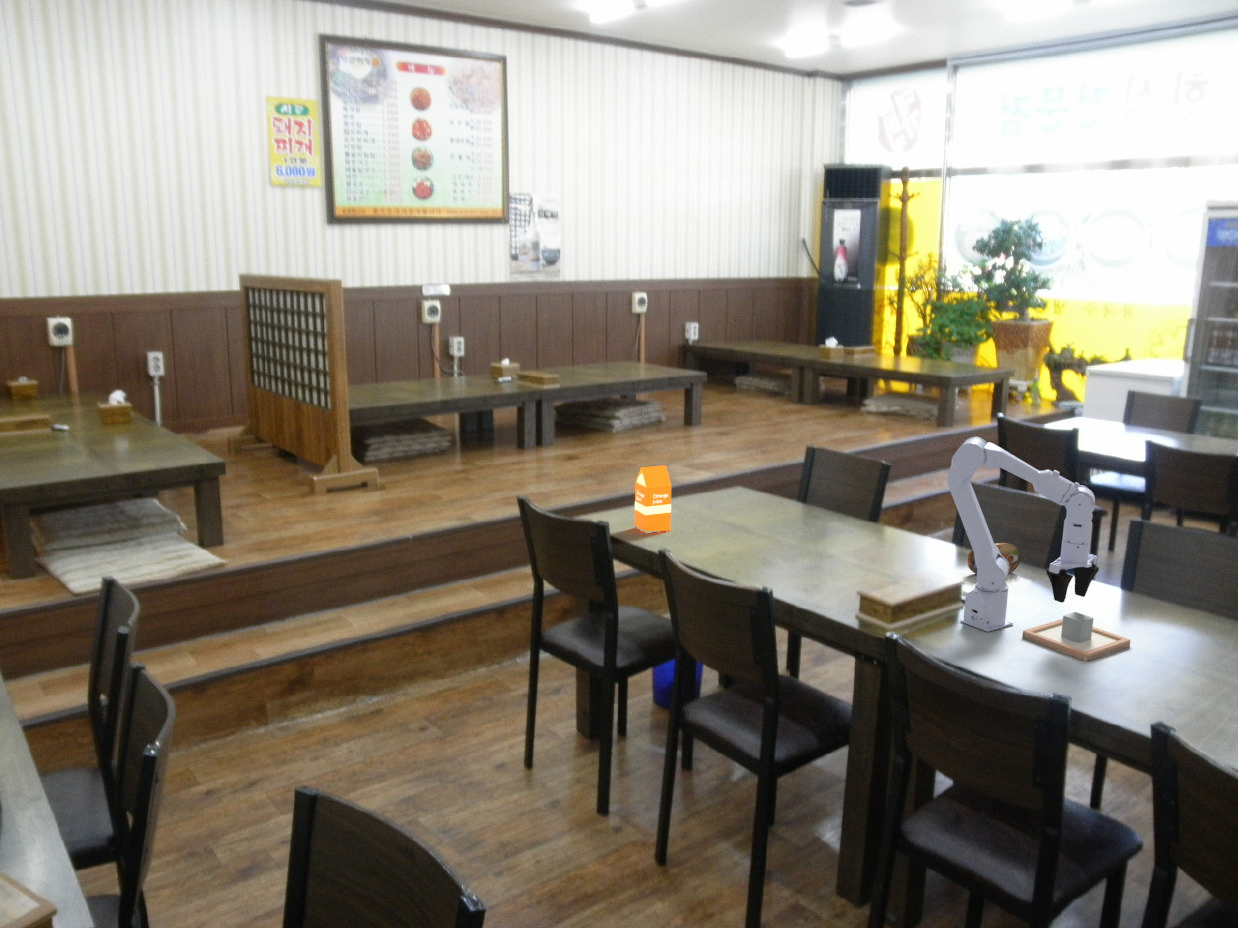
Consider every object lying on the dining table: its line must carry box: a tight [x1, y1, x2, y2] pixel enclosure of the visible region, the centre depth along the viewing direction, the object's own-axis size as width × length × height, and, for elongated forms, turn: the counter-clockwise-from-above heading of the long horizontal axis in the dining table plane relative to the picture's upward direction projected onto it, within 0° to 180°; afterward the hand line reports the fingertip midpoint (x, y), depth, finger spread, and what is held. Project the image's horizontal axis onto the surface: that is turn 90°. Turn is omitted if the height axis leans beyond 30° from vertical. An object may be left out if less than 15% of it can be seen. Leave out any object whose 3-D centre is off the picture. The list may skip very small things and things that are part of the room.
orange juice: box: [634, 465, 672, 532], centre depth 317 cm, size 8×9×20 cm
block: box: [1061, 611, 1094, 643], centre depth 232 cm, size 4×4×5 cm
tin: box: [967, 542, 1021, 575], centre depth 279 cm, size 15×3×8 cm, turn 105°
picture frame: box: [1022, 618, 1131, 662], centre depth 232 cm, size 16×16×2 cm
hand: (1069, 598), depth 234 cm, fingers open, 7 cm apart
